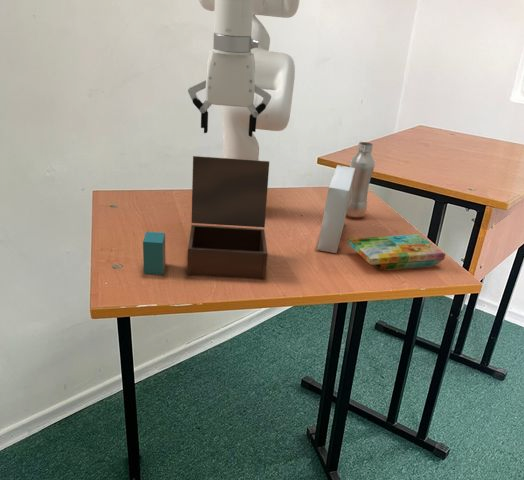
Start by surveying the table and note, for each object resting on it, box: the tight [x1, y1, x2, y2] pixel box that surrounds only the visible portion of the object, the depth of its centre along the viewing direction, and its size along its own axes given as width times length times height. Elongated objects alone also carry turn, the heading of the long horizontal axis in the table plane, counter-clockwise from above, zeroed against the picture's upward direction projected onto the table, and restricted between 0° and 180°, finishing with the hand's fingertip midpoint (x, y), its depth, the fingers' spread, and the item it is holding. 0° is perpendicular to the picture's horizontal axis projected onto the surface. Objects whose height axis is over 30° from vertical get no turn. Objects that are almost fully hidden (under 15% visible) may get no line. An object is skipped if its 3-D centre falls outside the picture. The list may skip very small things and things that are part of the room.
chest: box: [187, 224, 268, 280], centre depth 130 cm, size 14×17×7 cm
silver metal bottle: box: [346, 141, 376, 218], centre depth 161 cm, size 6×7×20 cm
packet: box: [142, 231, 166, 276], centre depth 124 cm, size 6×4×8 cm
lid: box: [190, 155, 270, 228], centre depth 132 cm, size 14×17×5 cm
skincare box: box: [316, 164, 355, 254], centre depth 147 cm, size 21×6×16 cm, turn 168°
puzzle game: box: [346, 233, 447, 271], centre depth 141 cm, size 12×5×20 cm
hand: (228, 133), depth 127 cm, fingers open, 9 cm apart
